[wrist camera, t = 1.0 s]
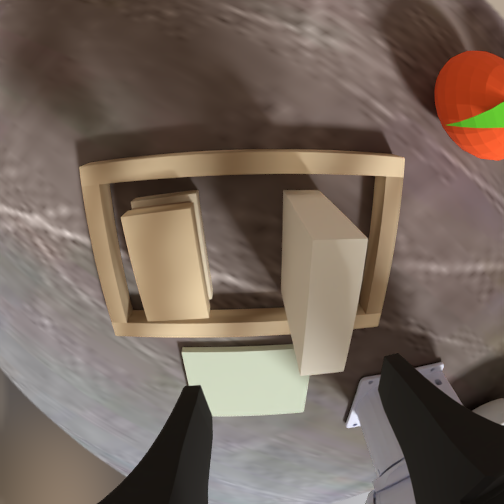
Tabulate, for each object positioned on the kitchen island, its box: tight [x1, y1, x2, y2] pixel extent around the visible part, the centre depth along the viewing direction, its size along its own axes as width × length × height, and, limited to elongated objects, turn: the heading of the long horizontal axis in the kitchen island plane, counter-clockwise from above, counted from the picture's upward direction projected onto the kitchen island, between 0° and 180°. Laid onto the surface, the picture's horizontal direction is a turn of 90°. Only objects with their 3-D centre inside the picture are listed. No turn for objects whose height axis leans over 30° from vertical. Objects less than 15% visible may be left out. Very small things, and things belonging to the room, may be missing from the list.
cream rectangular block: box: [281, 190, 368, 376], centre depth 16 cm, size 2×7×8 cm, turn 1°
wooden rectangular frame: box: [79, 149, 405, 337], centre depth 19 cm, size 19×12×2 cm, turn 91°
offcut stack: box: [121, 190, 213, 321], centre depth 18 cm, size 4×7×4 cm, turn 5°
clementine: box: [434, 51, 504, 160], centre depth 13 cm, size 8×7×7 cm
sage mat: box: [182, 344, 309, 416], centre depth 25 cm, size 10×8×1 cm
